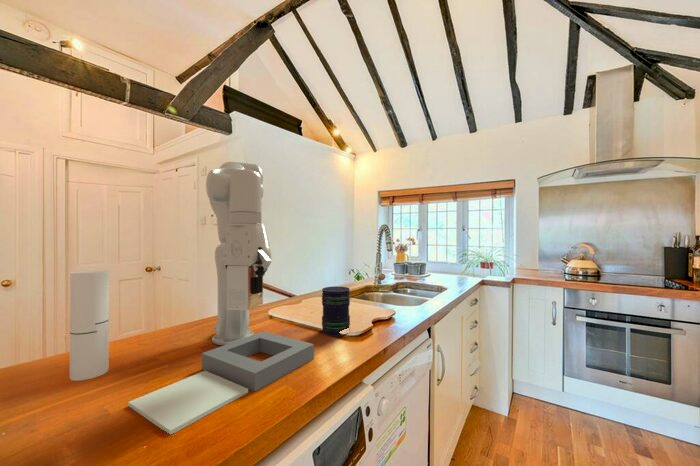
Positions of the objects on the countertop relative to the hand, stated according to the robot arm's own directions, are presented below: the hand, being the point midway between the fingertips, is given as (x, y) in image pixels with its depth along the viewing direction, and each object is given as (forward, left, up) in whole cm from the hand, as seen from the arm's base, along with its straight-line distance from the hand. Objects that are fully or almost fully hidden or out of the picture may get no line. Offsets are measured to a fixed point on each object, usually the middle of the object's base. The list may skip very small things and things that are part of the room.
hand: (245, 291), depth 73 cm
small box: (0, 0, -4) cm, 4 cm away
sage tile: (0, -14, -20) cm, 24 cm away
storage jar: (+1, +37, -20) cm, 42 cm away
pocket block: (-1, +5, -20) cm, 21 cm away
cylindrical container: (-32, -21, -20) cm, 43 cm away
